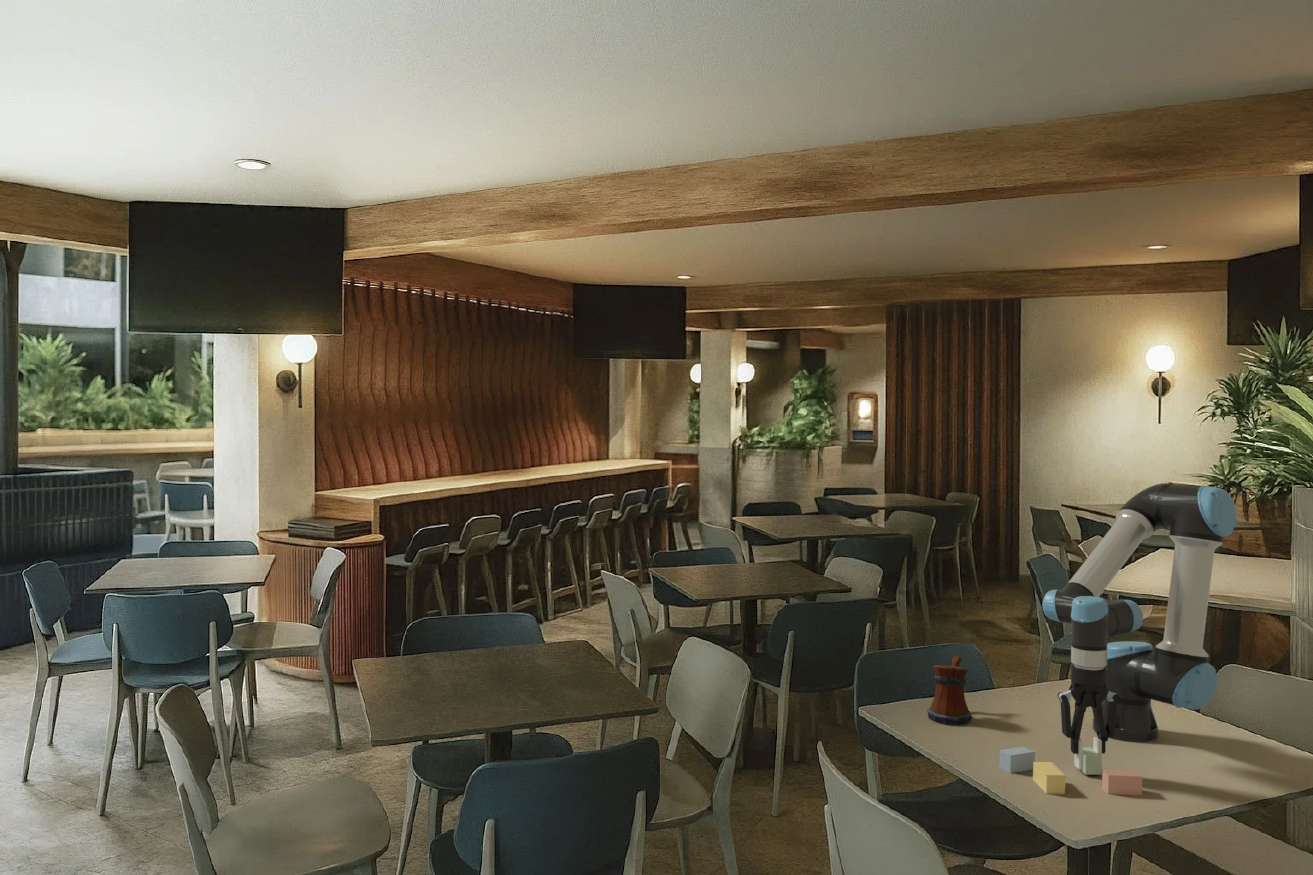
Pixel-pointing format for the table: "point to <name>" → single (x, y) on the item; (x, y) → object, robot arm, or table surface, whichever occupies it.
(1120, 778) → the terracotta brick
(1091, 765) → the sage brick
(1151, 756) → the table surface
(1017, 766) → the slate brick
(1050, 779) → the ochre brick
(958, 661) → the mug
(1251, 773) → the table surface
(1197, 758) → the table surface
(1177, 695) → the robot arm
